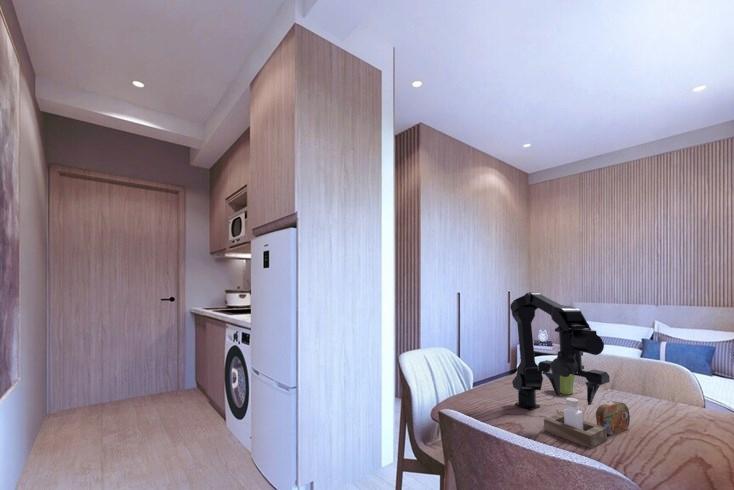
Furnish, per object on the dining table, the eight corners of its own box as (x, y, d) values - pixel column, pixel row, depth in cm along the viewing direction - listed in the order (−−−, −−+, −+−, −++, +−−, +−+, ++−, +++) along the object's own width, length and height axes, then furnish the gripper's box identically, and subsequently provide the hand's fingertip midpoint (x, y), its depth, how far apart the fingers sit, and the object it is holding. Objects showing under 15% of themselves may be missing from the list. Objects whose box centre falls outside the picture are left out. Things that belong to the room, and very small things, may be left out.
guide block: (560, 423, 111) (560, 413, 111) (607, 439, 100) (606, 427, 100) (544, 430, 105) (543, 419, 106) (591, 448, 94) (590, 435, 95)
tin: (605, 438, 101) (603, 408, 102) (594, 433, 104) (592, 405, 105) (631, 428, 108) (629, 401, 109) (620, 424, 111) (618, 398, 112)
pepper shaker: (563, 430, 103) (562, 398, 104) (570, 427, 105) (568, 396, 107) (577, 435, 100) (575, 402, 101) (584, 432, 102) (582, 400, 103)
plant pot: (556, 395, 140) (555, 373, 141) (548, 388, 149) (547, 368, 150) (581, 396, 138) (579, 375, 139) (571, 389, 147) (570, 369, 148)
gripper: (527, 345, 109) (529, 396, 107) (590, 356, 93) (594, 415, 91) (546, 343, 115) (548, 390, 113) (608, 352, 99) (612, 407, 98)
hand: (573, 400), depth 104 cm, fingers open, 9 cm apart
